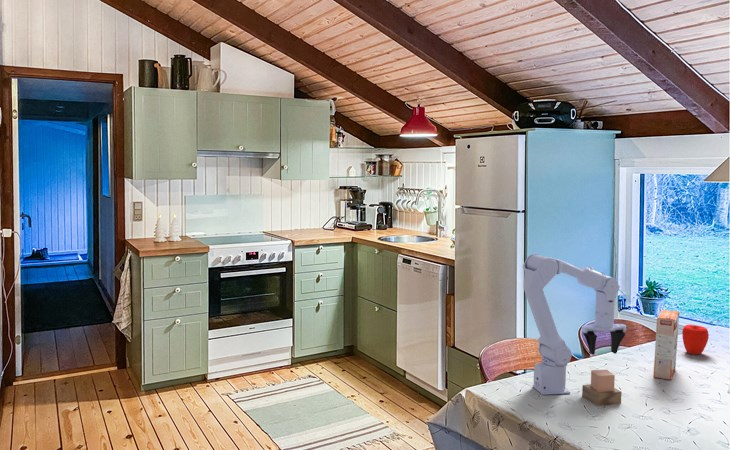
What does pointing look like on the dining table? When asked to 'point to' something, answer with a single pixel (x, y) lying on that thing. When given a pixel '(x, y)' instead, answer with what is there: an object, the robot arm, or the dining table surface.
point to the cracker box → (666, 344)
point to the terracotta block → (602, 380)
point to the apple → (695, 338)
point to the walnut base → (601, 396)
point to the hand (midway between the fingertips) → (602, 353)
